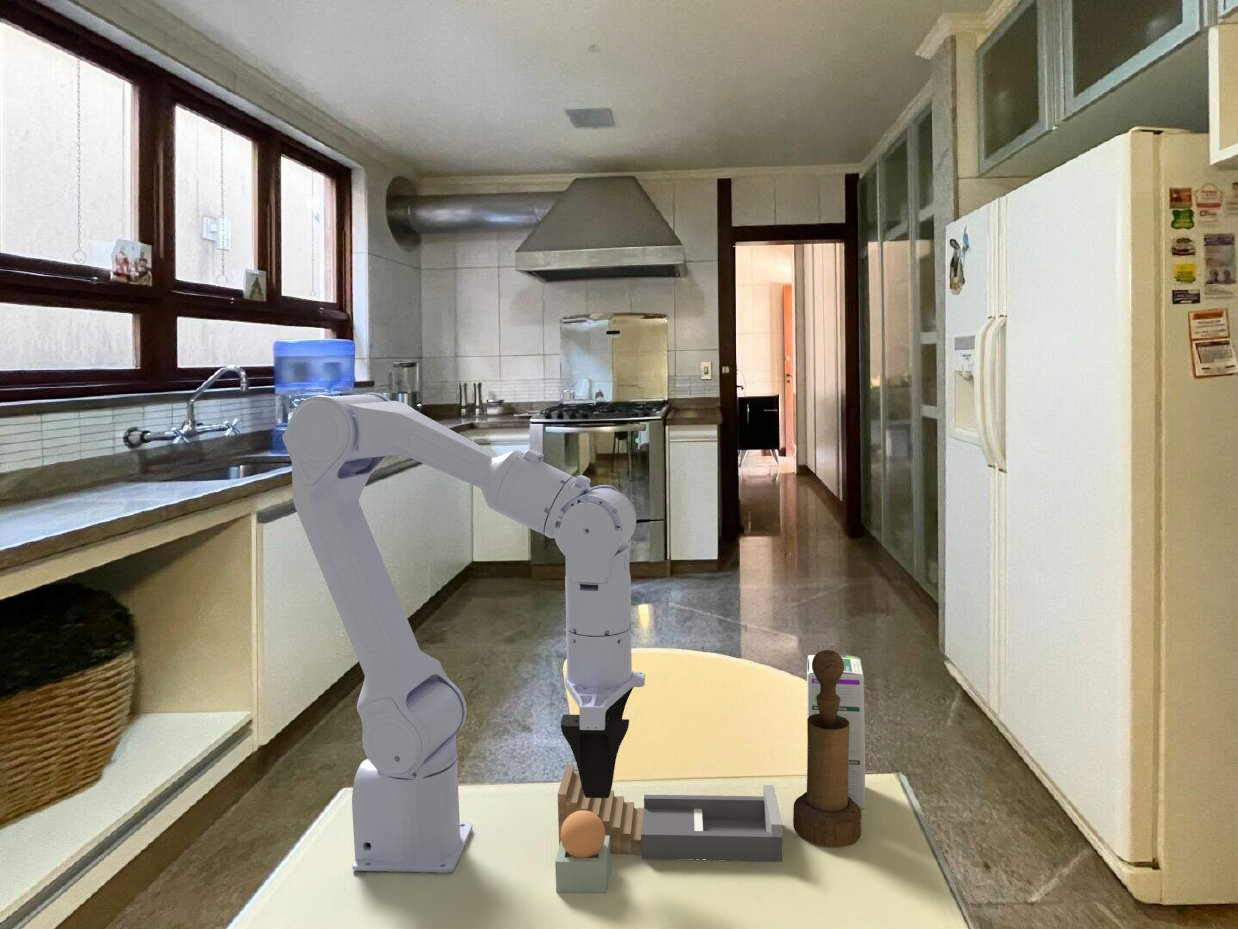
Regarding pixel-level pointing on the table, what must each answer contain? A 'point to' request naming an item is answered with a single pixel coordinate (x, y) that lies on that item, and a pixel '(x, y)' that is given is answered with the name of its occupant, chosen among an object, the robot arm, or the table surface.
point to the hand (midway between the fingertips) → (601, 775)
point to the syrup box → (853, 711)
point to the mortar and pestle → (827, 766)
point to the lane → (712, 827)
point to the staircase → (602, 813)
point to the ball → (582, 834)
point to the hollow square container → (583, 871)
